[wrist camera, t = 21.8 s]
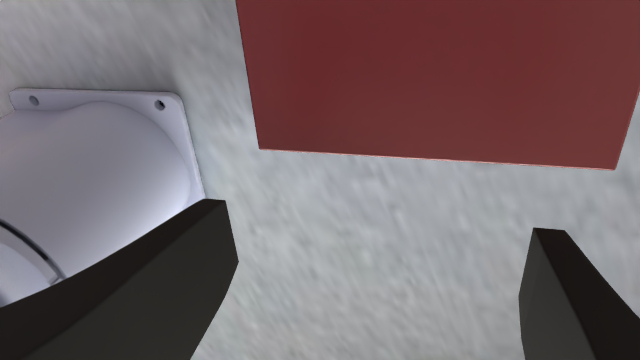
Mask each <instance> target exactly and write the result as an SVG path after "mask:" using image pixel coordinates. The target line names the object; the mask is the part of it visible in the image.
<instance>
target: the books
mask: <svg viewBox="0 0 640 360" xmlns="http://www.w3.org/2000/svg"><path fill="white" fill-rule="evenodd" d="M235 1H236V7H237V13H238V20H239V26H240V32H241V38H242V45H243V51H244V57H245V64H246V70H247V76H248V83H249V89H250V95H251V101H252V108H253V114H254V120H255V127H256V133H257V139H258V145H259V149H260V150H271V151H288V152H305V153H322V154H339V155H356V156H374V157H391V158H408V159H425V160H442V161H459V162H476V163H494V164H511V165H528V166H545V167H562V168H579V169H596V170H615V169H616V166H617V163H618V160H619V157H620V153H621V150H622V147H623V144H624V140H625V137H626V134H627V131H628V127H629V124H630V121H631V118H632V114H633V111H634V108H635V105H636V101H637V98H638V95H639V92H640V0H235Z"/></svg>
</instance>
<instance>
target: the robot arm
mask: <svg viewBox="0 0 640 360" xmlns="http://www.w3.org/2000/svg"><path fill="white" fill-rule="evenodd" d="M9 98H10V101H11V103H12V105H13V108H14V110H15V111H14V112H12V113H10V114H8V115H6V116H4V117H2V118H0V360H190V359H191V357H192V355H193V354H194V352H195V350H196V348H197V346H198V345H199V343H200V341H201V339H202V338H203V336H204V334H205V332H206V330H207V329H208V327H209V325H210V323H211V322H212V320H213V318H214V316H215V314H216V313H217V311H218V309H219V307H220V305H221V303H222V302H223V300H224V298H225V296H226V293H227V291H228V289H229V286H230V284H231V281H232V279H233V276H234V273H235V270H236V268H237V265H238V262H239V261H238V256H237V252H236V247H235V242H234V238H233V233H232V229H231V224H230V219H229V215H228V210H227V206H226V201H225V200H215V199H206V197H205V193H204V189H203V185H202V180H201V176H200V172H199V168H198V164H197V160H196V156H195V152H194V147H193V143H192V139H191V135H190V131H189V127H188V123H187V119H186V114H185V110H184V106H183V102H182V100H181V98H180V97H179V96H178V95H176V94H175V93H171V92H140V91H104V90H68V89H31V88H17V89H14V90H12V91H11V92H10V93H9ZM36 98H37V99H36ZM37 100H38V101H37ZM159 100H160V101H162V102H163V103H164V105H165V107H163V106H161V105H160V103H159ZM519 312H520V326H521V339H522V344H523V350H524V355H525V360H640V318H639V317H638V316H637V315H636V314H635V313H634V312H633V311H632V310H631V309H630V307H629V306H628V305H627V304H626V303H625V302H624V301H623V300H622V298H621V297H620V296H619V295H618V294H617V293H616V292H615V291H614V289H613V288H612V287H611V286H610V285H609V284H608V282H607V281H606V280H605V279H604V278H603V277H602V275H601V274H600V273H599V272H598V271H597V269H596V268H595V267H594V266H593V264H592V263H591V262H590V261H589V260H588V258H587V257H586V256H585V255H584V253H583V252H582V251H581V250H580V248H579V247H578V246H577V245H576V243H575V242H574V241H573V240H572V238H571V237H570V236H569V235H568V234H567V233H566V231H565V230H556V229H544V228H533V231H532V236H531V241H530V245H529V250H528V255H527V259H526V264H525V269H524V273H523V278H522V282H521V287H520V292H519Z"/></svg>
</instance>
